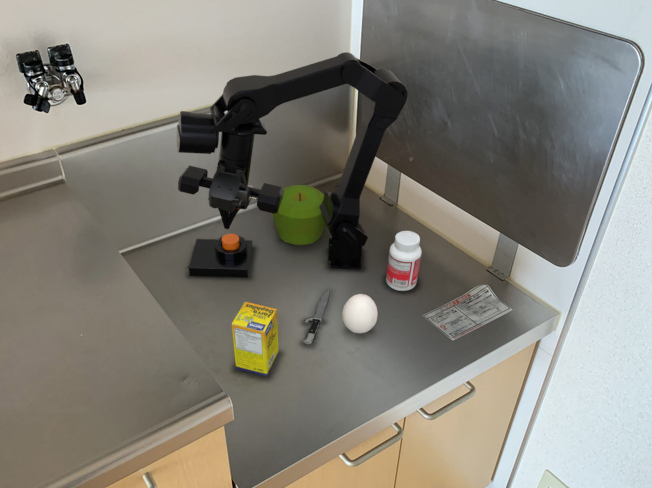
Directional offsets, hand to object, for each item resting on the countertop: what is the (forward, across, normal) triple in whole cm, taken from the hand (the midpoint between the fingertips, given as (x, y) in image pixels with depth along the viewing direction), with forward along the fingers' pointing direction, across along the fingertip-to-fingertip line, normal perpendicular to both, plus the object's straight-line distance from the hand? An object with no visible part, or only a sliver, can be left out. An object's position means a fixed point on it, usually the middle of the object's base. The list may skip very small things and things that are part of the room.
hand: (227, 227), depth 117 cm
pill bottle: (+6, +36, +4) cm, 37 cm away
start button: (+8, 0, +6) cm, 10 cm away
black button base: (+12, -1, +5) cm, 13 cm away
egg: (+8, +29, -10) cm, 32 cm away
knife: (+9, +20, -8) cm, 24 cm away
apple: (+9, +13, +17) cm, 23 cm away
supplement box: (+12, +12, -22) cm, 27 cm away
